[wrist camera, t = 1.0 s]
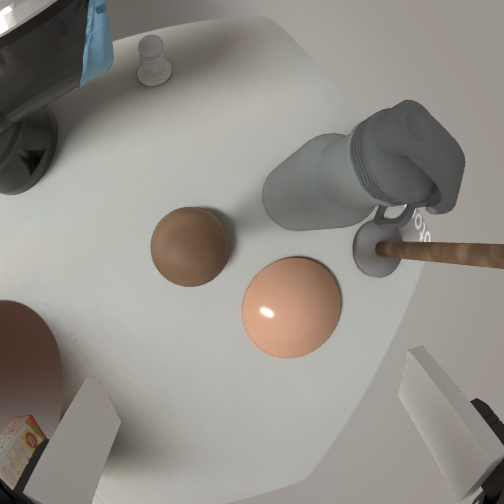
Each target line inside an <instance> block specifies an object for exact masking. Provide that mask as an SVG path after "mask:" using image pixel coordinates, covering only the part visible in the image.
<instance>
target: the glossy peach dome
mask: <svg viewBox="0 0 504 504" xmlns="http://www.w3.org/2000/svg"><path fill="white" fill-rule="evenodd" d="M340 309H341V299H340V293H339V289H338V286H337V284H336V282H335V280H334V278H333V277H332V275H331V274H330V273H329V272H328V271H327V270H326V269H325V268H324V267H323V266H321V265H320V264H318V263H316V262H314V261H311V260H308V259H304V258H286V259H281V260H279V261H276V262H274V263H272V264H270V265H268V266H267V267H265V268H264V269H262V270H261V271H260V272H259V273H258V274H257V275H256V276H255V277H254V279H253V280H252V282H251V283H250V285H249V286H248V288H247V290H246V293H245V296H244V300H243V305H242V318H243V323H244V327H245V330H246V332H247V334H248V336H249V337H250V339H251V340H252V342H253V343H254V344H255V345H256V346H257V347H258V348H259V349H261V350H262V351H264V352H265V353H267V354H269V355H272V356H275V357H279V358H296V357H301V356H304V355H307V354H309V353H311V352H313V351H314V350H316V349H317V348H319V347H320V346H321V345H322V344H323V343H325V342H326V340H327V339H328V338H329V337H330V335H331V334H332V332H333V331H334V329H335V327H336V325H337V322H338V319H339V315H340Z"/></svg>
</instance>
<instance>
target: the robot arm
mask: <svg viewBox="0 0 504 504" xmlns="http://www.w3.org/2000/svg"><path fill="white" fill-rule="evenodd" d="M113 59H114V54H113V45H112V38H111V31H110V24H109V18H108V12H107V6H106V0H0V193H2V194H6V195H16V194H20V193H22V192H24V191H26V190H28V189H29V188H31V187H32V186H33V185H34V184H35V183H36V182H37V181H38V180H39V179H40V178H41V177H42V175H43V174H44V173H45V171H46V170H47V168H48V166H49V164H50V162H51V160H52V158H53V155H54V152H55V148H56V144H57V124H56V121H55V118H54V116H53V114H52V113H51V112H50V111H49V110H48V109H47V108H46V107H45V106H46V105H47V104H49V103H51V102H52V101H54V100H56V99H58V98H59V97H61V96H63V95H65V94H67V93H68V92H70V91H72V90H74V89H76V88H82V87H83V86H84V85H85V83H87V82H89V81H91V80H93V79H95V78H97V77H99V76H101V75H102V74H104V73H106V72H107V71H108V70H109V68H110V67H111V65H112V63H113ZM398 397H399V398H400V400H401V402H402V403H403V405H404V407H405V409H406V410H407V412H408V414H409V415H410V417H411V419H412V420H413V422H414V424H415V425H416V427H417V429H418V431H419V433H420V434H421V436H422V438H423V440H424V441H425V443H426V445H427V447H428V448H429V450H430V452H431V454H432V456H433V458H434V459H435V461H436V463H437V465H438V467H439V468H440V470H441V472H442V474H443V476H444V478H445V480H446V482H447V483H448V485H449V487H450V489H451V491H452V493H453V495H454V497H455V499H456V501H457V503H458V502H460V501H462V500H464V499H465V498H467V497H469V496H471V495H472V494H474V493H475V492H476V491H477V489H478V488H479V487H480V486H481V487H482V489H483V491H482V492H481V493H480V494H479V495H478V496H477V497H476V498H475V499H474V501H473V503H472V504H475V503H476V502H477V501H478V500H479V503H478V504H504V424H503V423H502V422H501V421H499V418H498V417H497V416H496V414H494V412H493V411H492V409H491V408H490V407H489V406H488V405H487V404H486V403H484V402H483V401H481V400H479V399H478V398H476V399H474V400H472V401H469V400H468V399H467V397H466V396H465V395H464V394H463V393H462V391H461V390H460V389H459V388H458V386H457V385H456V384H455V383H454V382H453V381H452V379H451V378H450V377H449V376H448V374H447V373H446V372H445V371H444V370H443V368H442V367H441V366H440V365H439V364H438V363H437V361H436V360H435V359H434V358H433V357H432V356H431V355H430V353H429V352H428V351H427V350H426V349H425V348H424V347H423V346H421V347H417V348H413V349H410V350H408V354H407V359H406V364H405V368H404V373H403V377H402V381H401V386H400V389H399V393H398ZM120 424H121V420H120V419H119V417H118V415H117V413H116V411H115V409H114V407H113V405H112V403H111V401H110V399H109V397H108V395H107V393H106V391H105V389H104V387H103V384H102V382H101V380H98V379H86V380H85V382H84V383H83V385H82V386H81V388H80V390H79V391H78V393H77V395H76V396H75V398H74V399H73V401H72V403H71V404H70V406H69V408H68V410H67V411H66V413H65V415H64V416H63V418H62V420H61V421H60V423H59V425H58V427H57V428H56V430H55V432H54V434H53V436H52V437H51V439H50V440H49V439H44V440H43V441H42V442H41V443H40V444H39V445H37V447H36V449H35V450H34V452H33V454H32V457H30V459H29V461H28V464H27V465H26V467H25V469H24V470H23V472H22V474H21V476H20V478H19V480H18V482H17V484H16V486H15V488H14V489H13V490H12V489H11V488H10V487H9V486H8V485H7V484H6V483H5V482H4V481H3V480H2V479H0V504H91V503H92V500H93V497H94V494H95V491H96V488H97V485H98V483H99V480H100V477H101V474H102V471H103V469H104V466H105V463H106V461H107V458H108V455H109V453H110V450H111V447H112V445H113V442H114V439H115V437H116V434H117V432H118V429H119V427H120Z"/></svg>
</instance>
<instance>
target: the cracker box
mask: <svg viewBox="0 0 504 504" xmlns="http://www.w3.org/2000/svg"><path fill="white" fill-rule="evenodd" d="M44 439H47V437H46V436H45V435H44V433H43V432H42V430H41V429H40V427H39V426H38V424H37V423H36V421H35V420H34V418H33V417H32V415H28V416H21V417H14V418H13V419H12V420H11V421H10V422H9V424H8V425H7V426H6V427H5V428H4V430H2V432H1V433H0V479H2V480H3V481H4V482H5V483H6V484H7V485H8V486H9V487H10V488H11V489H12V490H13V489H14V488H15V486H16V484H17V482H18V480H19V478H20V476H21V474H22V472H23V470H24V469H25V467H26V465H27V464H28V461H29V459H30V457H32V454H33V452H34V450H35V449H36V447H37V445H39V444H40V443H41V442H42V441H43V440H44Z"/></svg>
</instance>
